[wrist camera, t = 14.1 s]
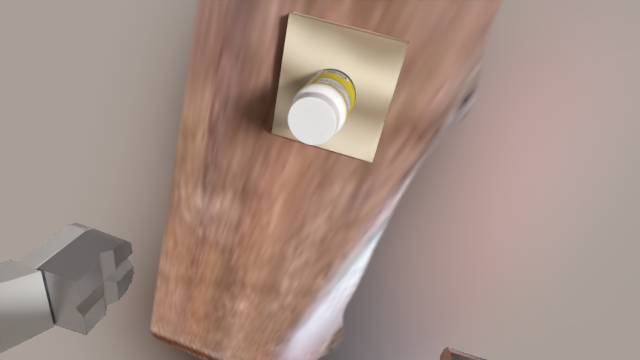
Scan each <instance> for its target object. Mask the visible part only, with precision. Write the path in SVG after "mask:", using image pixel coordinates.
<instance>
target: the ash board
mask: <svg viewBox="0 0 640 360" xmlns="http://www.w3.org/2000/svg"><path fill="white" fill-rule="evenodd" d="M408 44H409V41H407V40H403V39H399V38H395V37H391V36H387V35H383V34H379V33H375V32H372V31H368V30H364V29H360V28H356V27H352V26H348V25H344V24H340V23H336V22H332V21H328V20H324V19H320V18H316V17H313V16H309V15H305V14H301V13H297V12H292V13H289V18H288V25H287V32H286V38H285V45H284V52H283V59H282V66H281V73H280V79H279V86H278V93H277V100H276V107H275V113H274V120H273V127H272V134H276V135H279V136H283V137H286V138H290V139H293V140H296V141H300V140H298V139H297V138H296V137H295V136H294V135H293V134H292V132H291V131H290V128H289V126H288V119H287V118H288V112H289V109H290V107H291V105H292V101H293V98H294V96H295V95H296V94H297V92H298V91H299V90H300V89H301V88H302V87H303V86H304V85H305V84H306V83H307V82H308V81H309V80H310V79H311V78H312V77H313V76H314V75H315V74H317V73H318V72H320V71H322V70H324V69H329V68H333V69H338V70H341V71H343V72H345V73H346V74H347V75H348V76H349V77H350V78H351V79H352V81H353V82H354V85H355V88H356V100H355V103H354V105H353V107H352V109H351V111H350V113H349V115H348V117H347V119H346V121H345V123H344V125H343V127H342V128H341V129H340V130H339V131H338V132H337V133H336V134H334V135H333V136H332V137H331V138H330V139H329V140H328V141H326V142H325V143H323V144H319V145H314V146H317V147H321V148H324V149H327V150H331V151H334V152H338V153H341V154H345V155H348V156H352V157H355V158H358V159H362V160H365V161H369V162H372V161H373V158H374V155H375V151H376V148H377V145H378V142H379V138H380V135H381V132H382V129H383V125H384V122H385V119H386V116H387V112H388V109H389V106H390V103H391V99H392V96H393V93H394V89H395V86H396V83H397V80H398V76H399V73H400V70H401V67H402V63H403V60H404V57H405V54H406V50H407V47H408ZM300 142H301V141H300Z"/></svg>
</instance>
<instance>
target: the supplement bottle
mask: <svg viewBox="0 0 640 360" xmlns="http://www.w3.org/2000/svg"><path fill="white" fill-rule="evenodd" d="M355 100H356V88H355V85H354V82H353V81H352V79H351V78H350V77H349V76H348V75H347V74H346V73H345V72H343V71H341V70H338V69H333V68H329V69H324V70H322V71H320V72H318V73H317V74H315V75H314V76H313V77H312V78H311V79H310V80H309V81H308V82H307V83H306V84H305V85H304V86H303V87H302V88H301V89H300V90H299V91H298V92H297V94H296V95H295V96H294V98H293V101H292V105H291V107H290V109H289V112H288V118H287V119H288V126H289V128H290V131H291V132H292V134H293V135H294V136H295V137H296V138H297V139H298V140H300V141H301V142H303V143H305V144H309V145H319V144H323V143H325V142H326V141H328V140H329V139H330V138H331V137H332V136H333V135H334V134H336V133H337V132H338V131H339V130H340V129H341V128H342V127H343V125H344V123H345V121H346V119H347V117H348V115H349V113H350V111H351V109H352V107H353V105H354V103H355Z"/></svg>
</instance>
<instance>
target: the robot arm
mask: <svg viewBox="0 0 640 360" xmlns="http://www.w3.org/2000/svg"><path fill="white" fill-rule="evenodd" d="M131 254H132V245H131V243H130V242H128V241H126V240H123V239H120V238H117V237H115V236H112V235H109V234H107V233H104V232H101V231H98V230H95V229H92V228H89V227H87V226H84V225H81V224H78V223H73V224H69V225H67V226H66V227H64V228H63V229H62V230H60V231H59V232H57V233H56V234H54V235H53V236H52V237H51V238H49V239H47V240H46V241H45V242H43V243H42V244H40V245H39V246H37V247H36V248H35V249H33V250H32V251H30V252H29V253H28V254H26V255H25V256H23V257H22V258H20V259H19V260H18V261H16V262H15V261H12V260H9V261H5V262H1V263H0V353H2V352H4V351H6V350H8V349H10V348H12V347H14V346H16V345H18V344H20V343H22V342H24V341H26V340H28V339H30V338H32V337H34V336H36V335H38V334H40V333H42V332H44V331H46V330H48V329H50V328H52V327H54V325H57V326H60V327H63V328H66V329H69V330H72V331H75V332H78V333H81V334H84V335H87V334H88V333H89V332H90V331H91V329H93V327H94V326H95V325H96V324H97V323H98V322H99V321H100V320H101V319H102V318H103V317H104V316H105V315H106V308H107V305H109V304H111V303H114V302H116V301H119V299H120V298H121V297H122V296H123V295H124V294H125V293H126V291H127V290H128V288H129V286H130V284H131V282H132V279H133V274H134V270H133V269H134V267H133V264H132V263H131V262H130V260H129V259H128V257H129V256H130V255H131ZM440 360H486V359H483V358H480V357H477V356H473V355H470V354H467V353H464V352H461V351H458V350H455V349H452V348H449V347H447V348H446V349H444V351H443V352H442V354H441V356H440Z"/></svg>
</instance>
